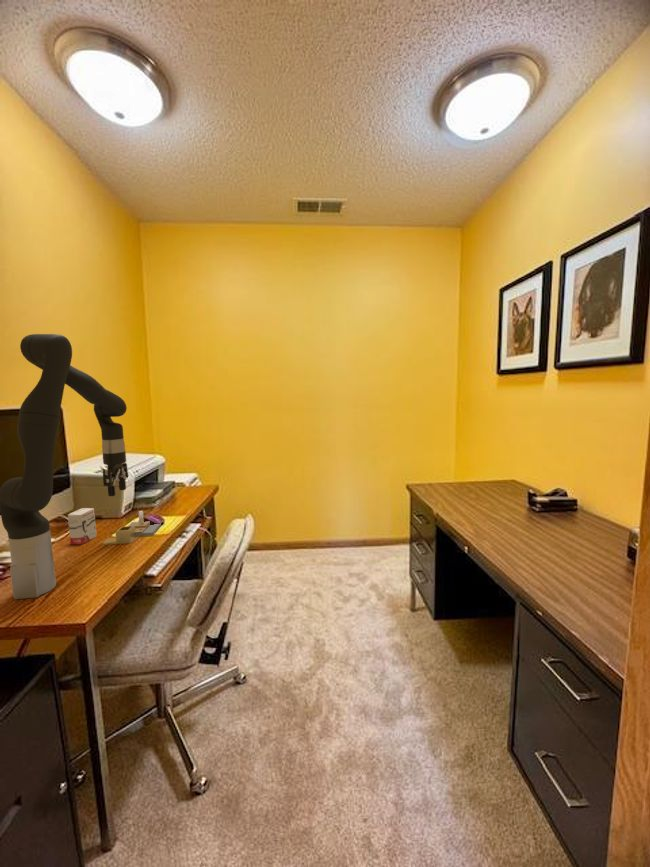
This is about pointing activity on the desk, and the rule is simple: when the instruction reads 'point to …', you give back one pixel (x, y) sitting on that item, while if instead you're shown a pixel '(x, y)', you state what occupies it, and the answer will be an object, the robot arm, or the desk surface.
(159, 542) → the desk surface
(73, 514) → the ink box
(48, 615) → the desk surface
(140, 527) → the hinge base
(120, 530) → the beige flanged block
